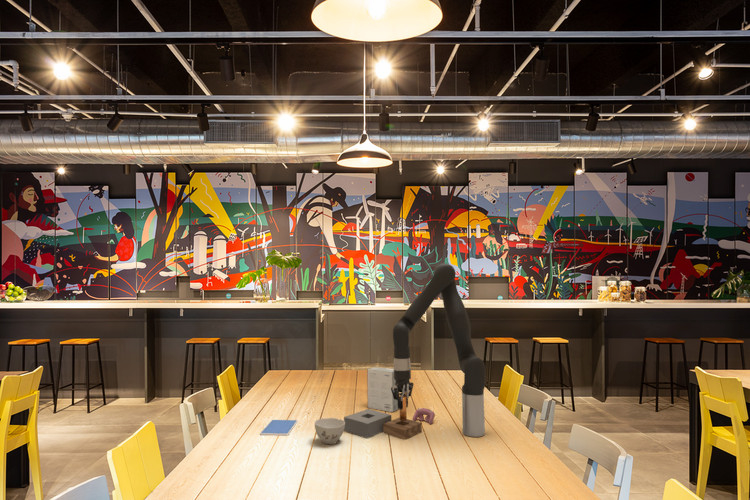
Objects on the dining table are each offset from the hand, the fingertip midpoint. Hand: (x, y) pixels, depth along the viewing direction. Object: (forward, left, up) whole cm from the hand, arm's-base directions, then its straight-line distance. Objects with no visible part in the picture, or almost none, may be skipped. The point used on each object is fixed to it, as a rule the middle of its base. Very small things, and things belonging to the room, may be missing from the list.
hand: (402, 408), depth 193 cm
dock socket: (+7, -14, -10) cm, 19 cm away
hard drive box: (-22, -29, -11) cm, 38 cm away
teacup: (+27, -17, -11) cm, 34 cm away
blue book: (+31, -46, -11) cm, 57 cm away
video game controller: (-18, -2, -11) cm, 21 cm away
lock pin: (0, 0, -5) cm, 5 cm away
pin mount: (0, 0, -11) cm, 10 cm away
